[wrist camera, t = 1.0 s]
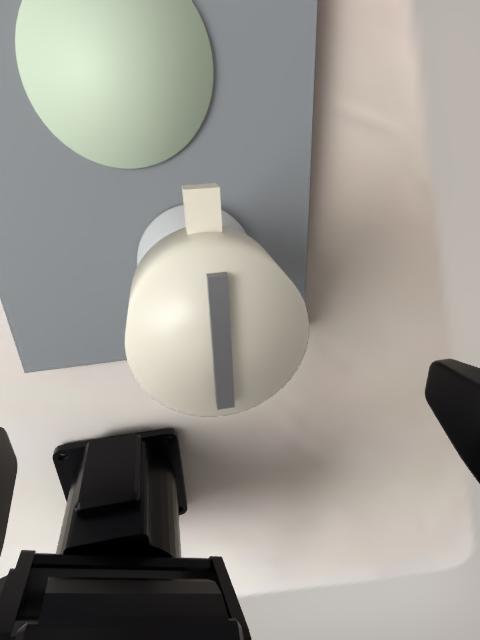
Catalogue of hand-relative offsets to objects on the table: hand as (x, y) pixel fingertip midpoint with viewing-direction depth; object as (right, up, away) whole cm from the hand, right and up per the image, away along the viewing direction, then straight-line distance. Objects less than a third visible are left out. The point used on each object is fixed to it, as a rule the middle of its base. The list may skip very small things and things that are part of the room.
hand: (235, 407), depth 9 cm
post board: (-4, +7, +8) cm, 12 cm away
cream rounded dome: (-1, +3, +5) cm, 6 cm away
